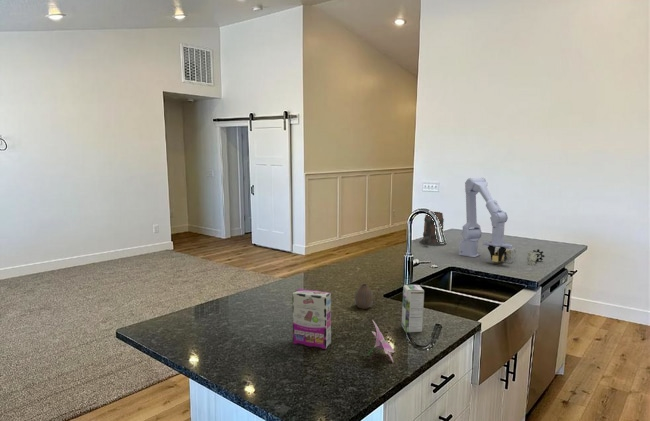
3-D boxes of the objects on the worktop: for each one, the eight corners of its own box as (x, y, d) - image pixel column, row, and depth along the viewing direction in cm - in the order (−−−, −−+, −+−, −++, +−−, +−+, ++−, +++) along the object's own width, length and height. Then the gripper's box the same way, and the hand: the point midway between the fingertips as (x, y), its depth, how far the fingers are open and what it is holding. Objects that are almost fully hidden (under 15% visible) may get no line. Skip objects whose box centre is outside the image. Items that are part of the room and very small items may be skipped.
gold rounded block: (489, 263, 225) (490, 252, 224) (496, 259, 234) (497, 248, 233) (500, 264, 221) (501, 254, 221) (507, 260, 230) (508, 250, 229)
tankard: (424, 239, 287) (425, 209, 284) (449, 242, 279) (451, 211, 276) (412, 246, 267) (413, 214, 264) (439, 249, 259) (440, 216, 256)
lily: (380, 375, 116) (398, 346, 115) (347, 348, 122) (364, 320, 121) (394, 369, 127) (411, 342, 126) (363, 345, 132) (379, 318, 132)
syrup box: (401, 325, 146) (402, 284, 144) (418, 325, 147) (419, 284, 145) (405, 332, 141) (406, 290, 139) (423, 332, 141) (424, 289, 139)
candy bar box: (331, 343, 133) (332, 292, 131) (326, 350, 129) (326, 297, 126) (298, 337, 137) (298, 287, 135) (292, 343, 133) (291, 292, 130)
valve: (536, 266, 222) (544, 262, 231) (537, 254, 221) (545, 250, 230) (523, 264, 227) (531, 259, 235) (524, 251, 226) (532, 248, 234)
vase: (367, 311, 159) (368, 288, 158) (351, 307, 163) (351, 285, 162) (375, 305, 165) (376, 283, 164) (359, 302, 169) (360, 280, 167)
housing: (491, 260, 234) (492, 247, 233) (496, 257, 240) (497, 245, 239) (510, 263, 227) (511, 250, 226) (515, 260, 233) (516, 247, 232)
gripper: (481, 234, 224) (479, 259, 226) (509, 238, 215) (508, 264, 217) (485, 232, 229) (484, 257, 231) (514, 235, 220) (512, 261, 222)
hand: (496, 260), depth 224 cm, fingers closed on gold rounded block, 3 cm apart
